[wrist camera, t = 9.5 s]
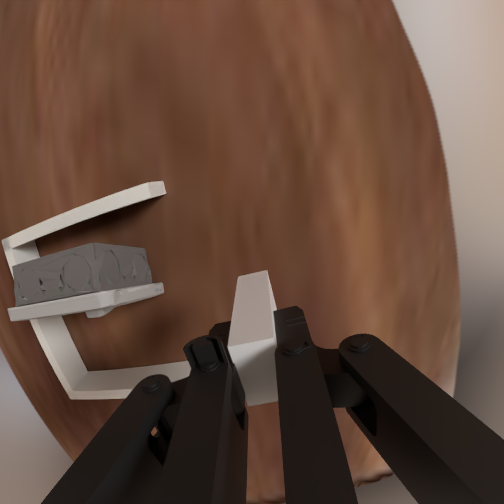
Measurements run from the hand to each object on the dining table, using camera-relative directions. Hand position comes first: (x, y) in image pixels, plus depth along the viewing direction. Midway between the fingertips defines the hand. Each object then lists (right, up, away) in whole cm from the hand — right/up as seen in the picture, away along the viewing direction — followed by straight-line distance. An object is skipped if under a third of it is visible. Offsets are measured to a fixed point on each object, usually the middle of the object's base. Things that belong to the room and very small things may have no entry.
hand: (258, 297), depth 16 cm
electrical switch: (-12, +1, +8) cm, 15 cm away
